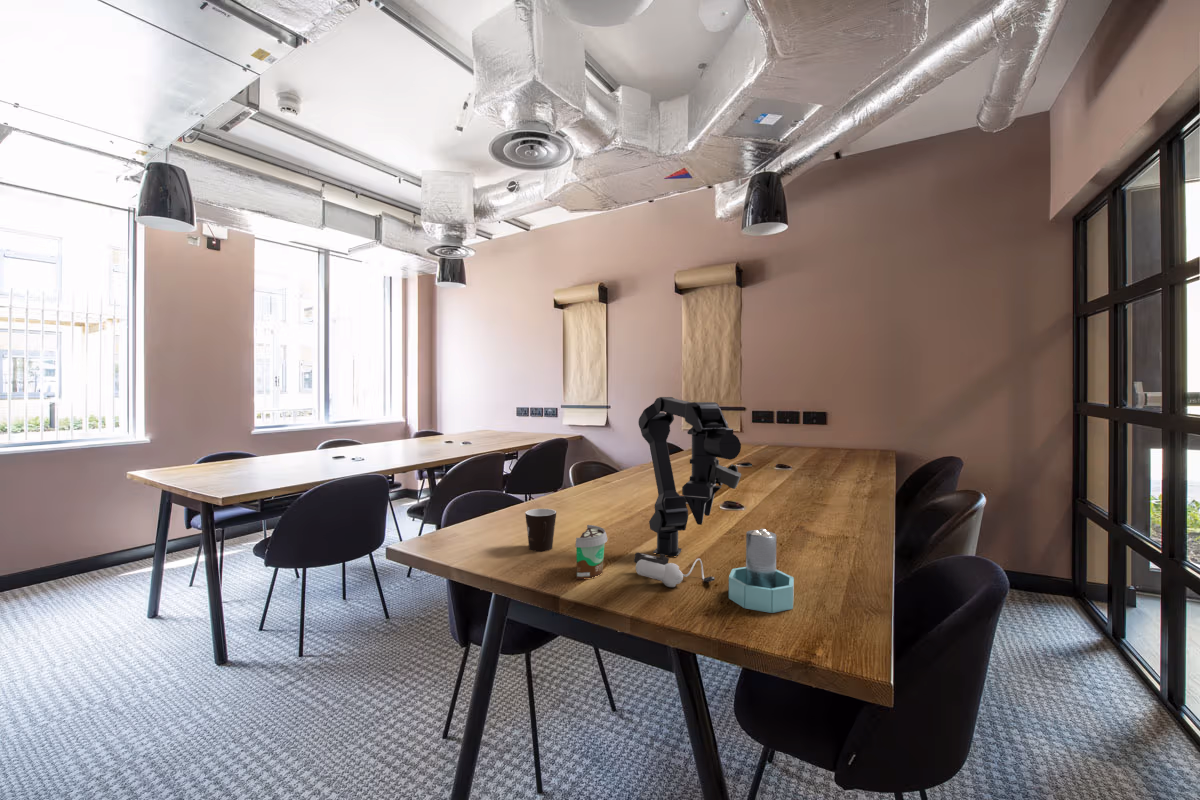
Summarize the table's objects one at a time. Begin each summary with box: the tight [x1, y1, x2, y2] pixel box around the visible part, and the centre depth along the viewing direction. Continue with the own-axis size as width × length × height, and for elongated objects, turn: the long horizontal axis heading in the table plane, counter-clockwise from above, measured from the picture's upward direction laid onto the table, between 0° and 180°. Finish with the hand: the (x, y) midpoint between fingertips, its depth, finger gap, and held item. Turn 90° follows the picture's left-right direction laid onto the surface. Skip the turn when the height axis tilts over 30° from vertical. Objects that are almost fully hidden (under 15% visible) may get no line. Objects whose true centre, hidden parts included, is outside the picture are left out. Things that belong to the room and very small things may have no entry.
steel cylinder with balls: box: [745, 528, 777, 588], centre depth 102 cm, size 6×6×13 cm
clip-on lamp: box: [633, 552, 716, 588], centre depth 112 cm, size 12×6×18 cm
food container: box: [575, 524, 608, 580], centre depth 116 cm, size 12×6×10 cm, turn 168°
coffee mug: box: [524, 508, 557, 553], centre depth 134 cm, size 12×9×10 cm
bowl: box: [728, 566, 795, 614], centre depth 102 cm, size 13×13×4 cm
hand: (703, 519), depth 116 cm, fingers open, 9 cm apart
